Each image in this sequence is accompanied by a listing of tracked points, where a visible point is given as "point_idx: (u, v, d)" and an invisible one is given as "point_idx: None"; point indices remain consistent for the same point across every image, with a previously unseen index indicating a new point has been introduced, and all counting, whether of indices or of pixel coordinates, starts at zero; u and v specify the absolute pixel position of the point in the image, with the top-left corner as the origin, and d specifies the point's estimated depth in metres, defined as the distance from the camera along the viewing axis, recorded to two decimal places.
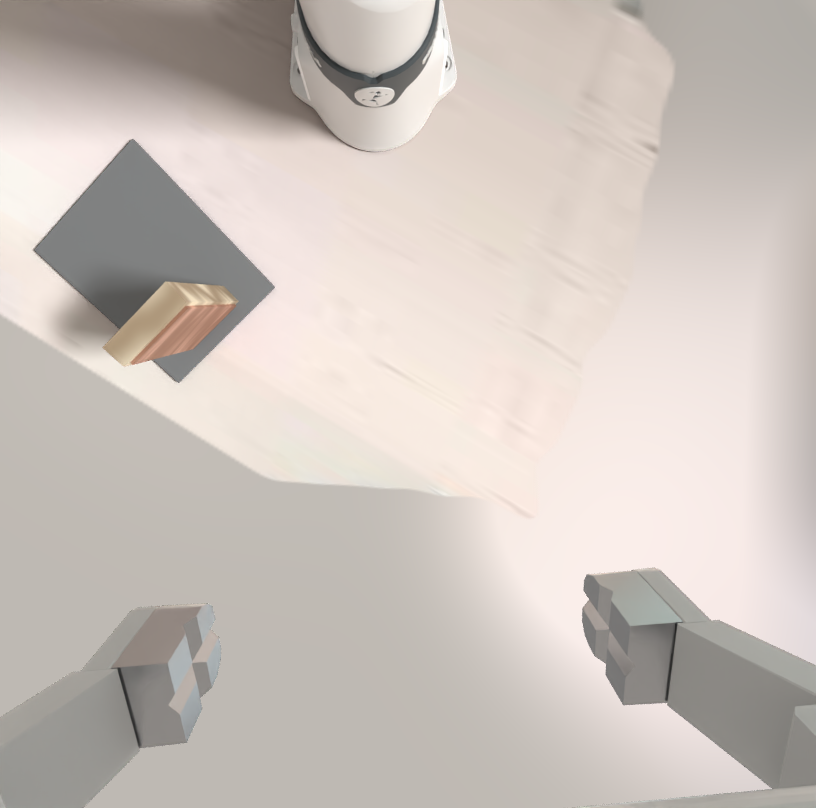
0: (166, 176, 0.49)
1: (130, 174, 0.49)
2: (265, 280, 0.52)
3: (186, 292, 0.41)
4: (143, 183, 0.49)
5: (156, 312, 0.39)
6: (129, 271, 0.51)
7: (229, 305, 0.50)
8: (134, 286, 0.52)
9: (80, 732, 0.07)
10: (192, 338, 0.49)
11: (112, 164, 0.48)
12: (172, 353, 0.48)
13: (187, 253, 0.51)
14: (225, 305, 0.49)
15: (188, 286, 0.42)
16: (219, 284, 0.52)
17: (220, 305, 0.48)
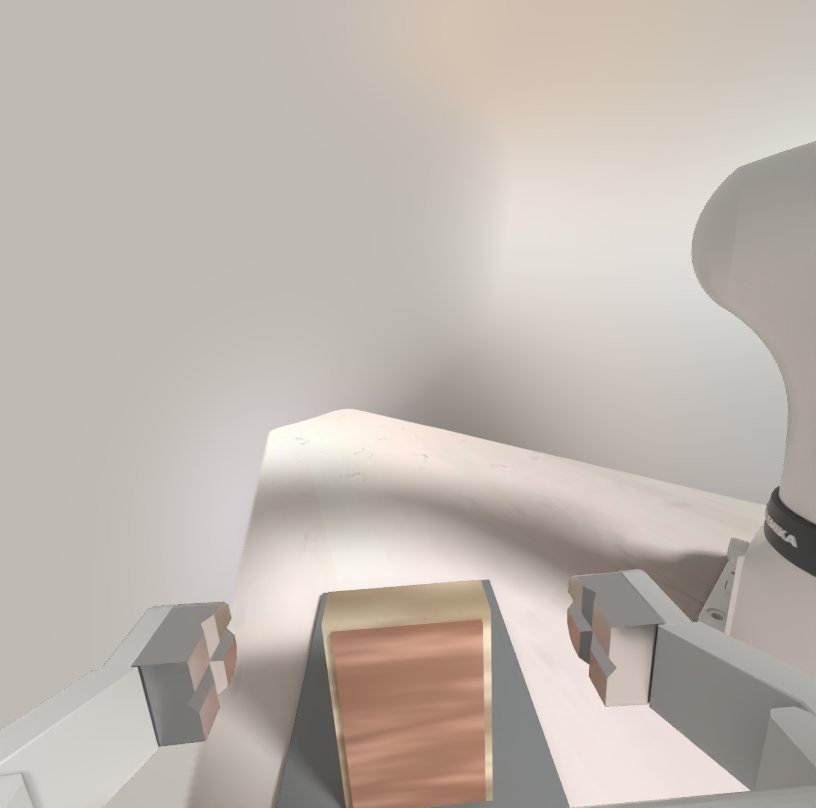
0: (499, 614, 0.41)
1: None
2: (564, 803, 0.26)
3: None
4: None
5: (436, 598, 0.23)
6: None
7: (484, 774, 0.25)
8: None
9: (102, 730, 0.07)
10: (391, 760, 0.24)
11: None
12: (348, 743, 0.24)
13: None
14: (484, 757, 0.25)
15: None
16: None
17: (484, 738, 0.24)
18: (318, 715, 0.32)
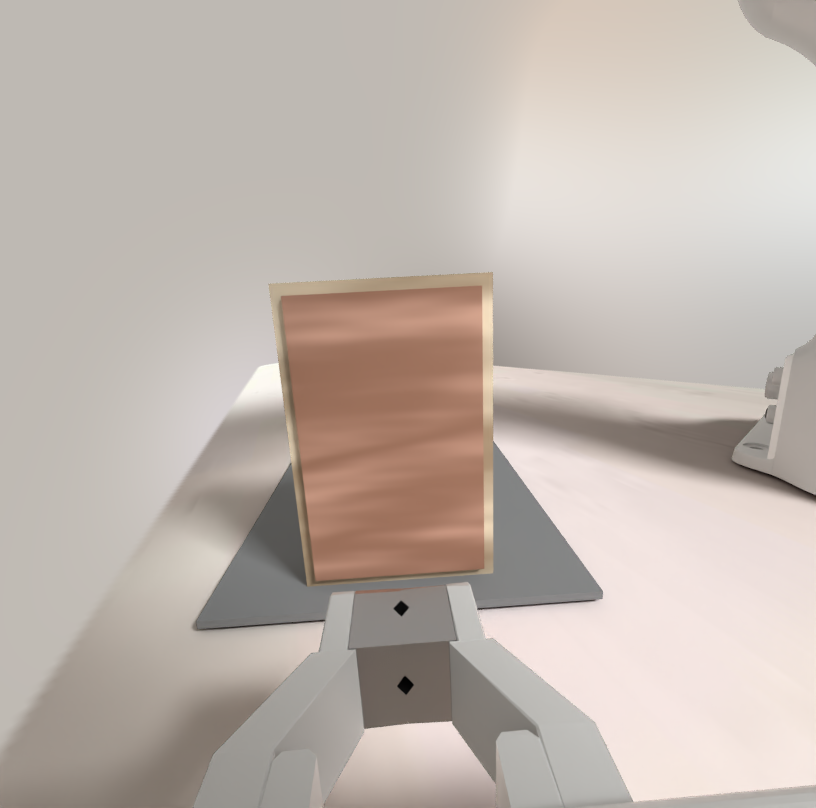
0: (501, 455, 0.35)
1: None
2: (585, 573, 0.20)
3: None
4: None
5: None
6: None
7: None
8: None
9: (335, 710, 0.07)
10: (363, 499, 0.19)
11: None
12: (307, 470, 0.18)
13: None
14: (482, 504, 0.19)
15: None
16: None
17: (483, 473, 0.19)
18: (282, 521, 0.26)
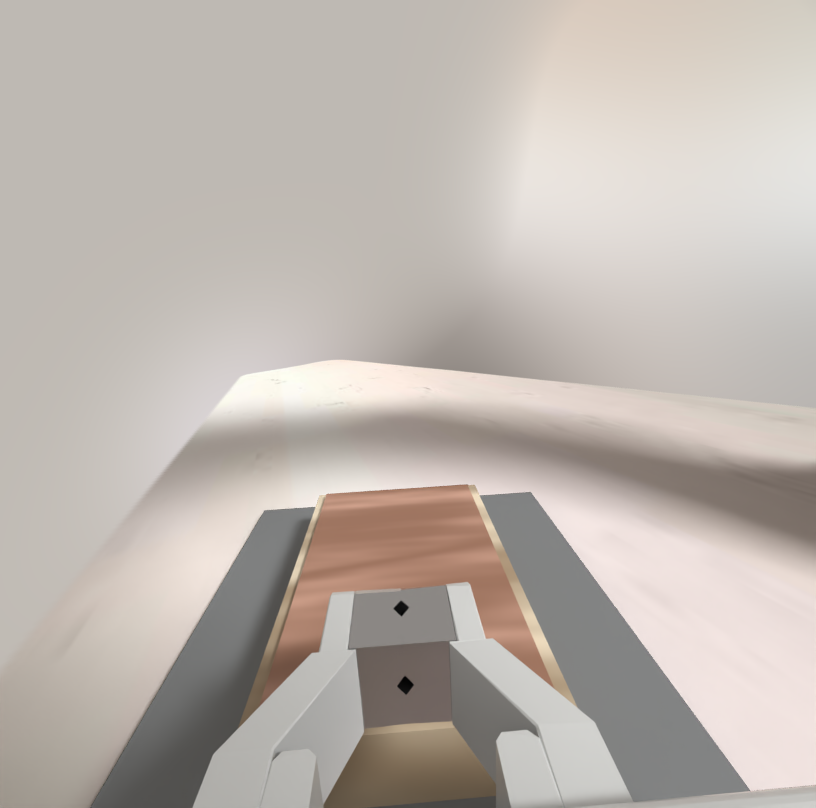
0: (557, 532, 0.24)
1: (493, 511, 0.26)
2: None
3: None
4: (506, 523, 0.25)
5: None
6: None
7: None
8: None
9: (335, 710, 0.07)
10: None
11: None
12: (305, 579, 0.16)
13: None
14: (518, 608, 0.15)
15: None
16: None
17: (507, 580, 0.16)
18: (201, 697, 0.15)
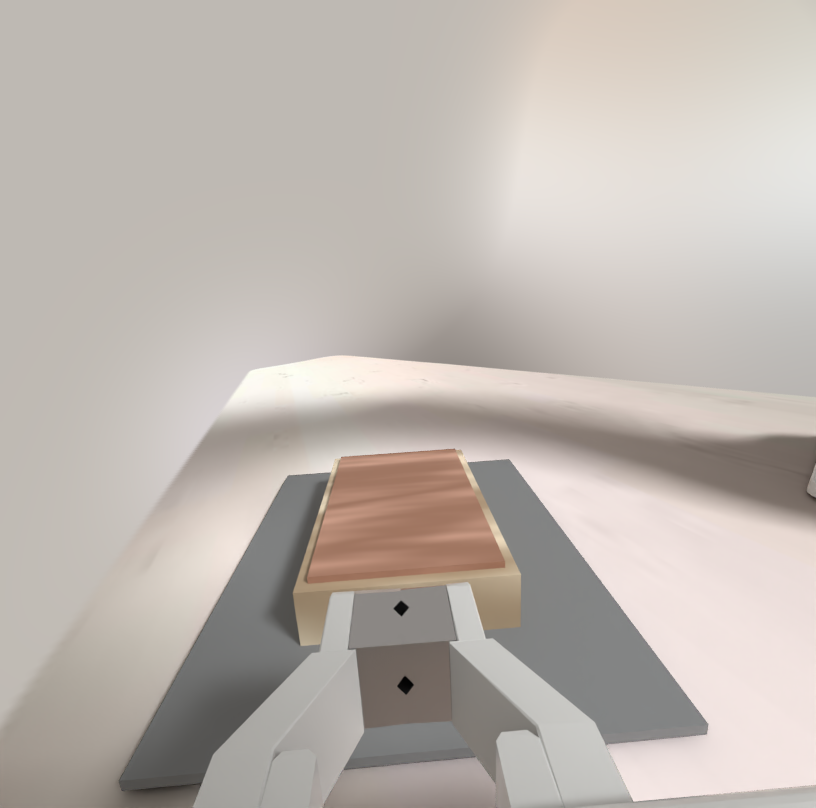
0: (527, 486, 0.29)
1: (477, 473, 0.32)
2: (673, 687, 0.14)
3: None
4: (487, 481, 0.31)
5: None
6: None
7: None
8: None
9: (335, 710, 0.07)
10: (373, 520, 0.21)
11: None
12: (330, 508, 0.22)
13: None
14: None
15: None
16: None
17: None
18: (258, 588, 0.21)
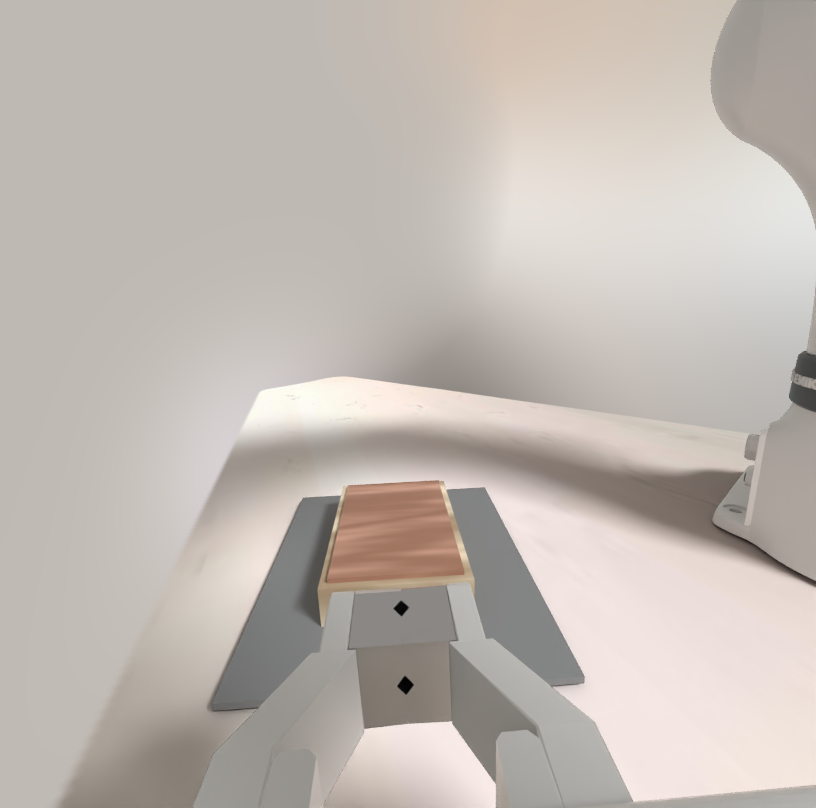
0: (495, 511, 0.37)
1: (457, 499, 0.40)
2: (569, 655, 0.22)
3: None
4: (464, 506, 0.38)
5: None
6: None
7: (458, 552, 0.27)
8: None
9: (335, 710, 0.07)
10: (373, 538, 0.28)
11: (447, 490, 0.42)
12: (341, 529, 0.30)
13: None
14: (455, 541, 0.28)
15: None
16: None
17: (452, 529, 0.29)
18: (288, 587, 0.28)
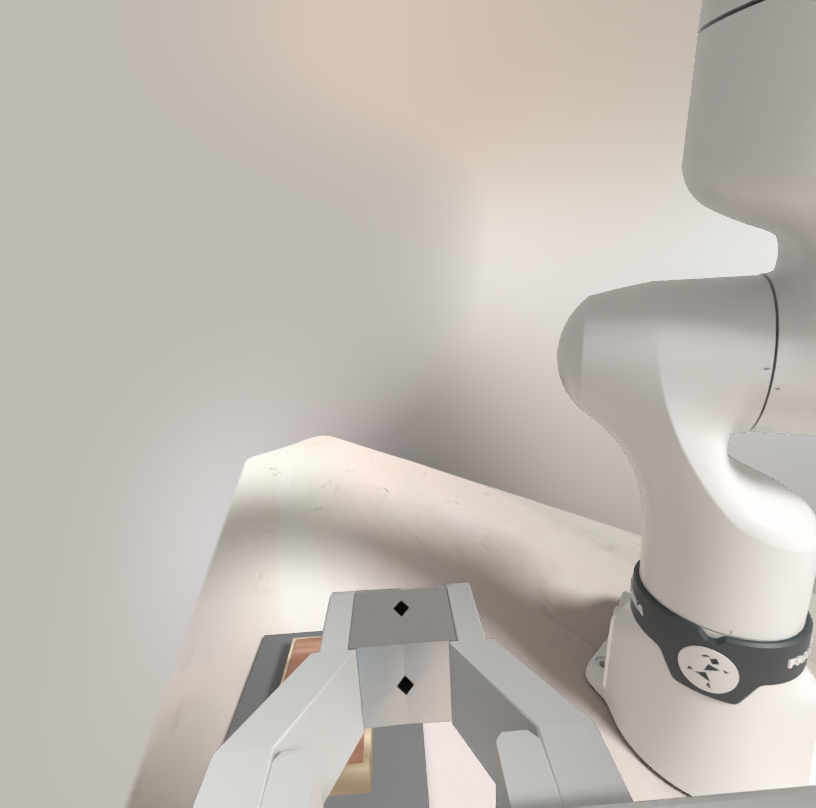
0: None
1: None
2: None
3: None
4: None
5: None
6: None
7: (364, 735, 0.35)
8: None
9: (335, 710, 0.07)
10: None
11: None
12: None
13: None
14: None
15: None
16: None
17: None
18: None
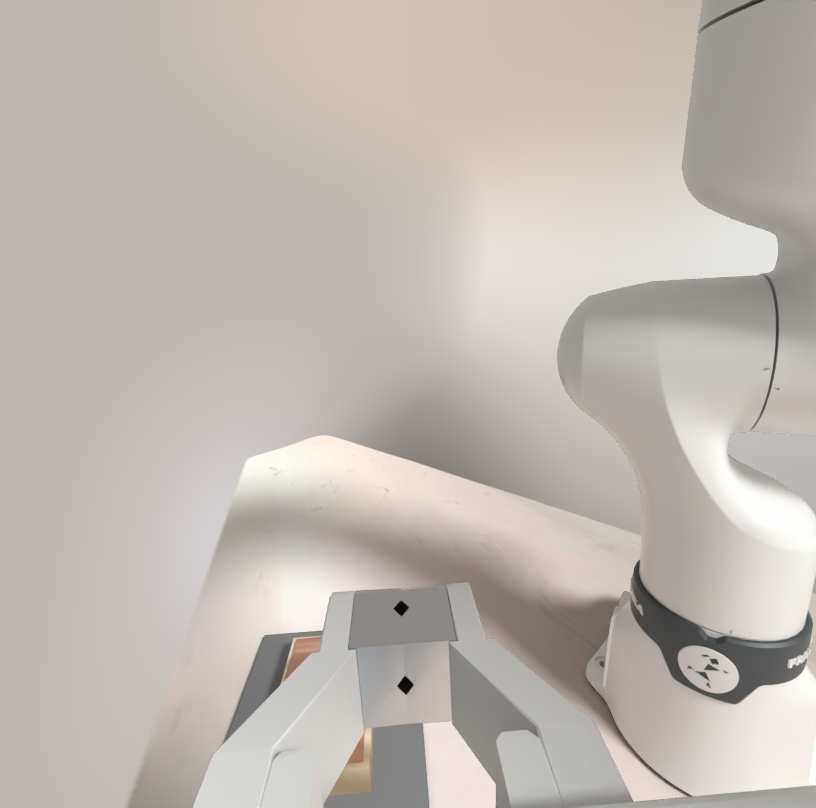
0: None
1: None
2: None
3: None
4: None
5: None
6: None
7: (364, 734, 0.35)
8: None
9: (335, 710, 0.07)
10: None
11: None
12: None
13: None
14: None
15: None
16: None
17: None
18: None
